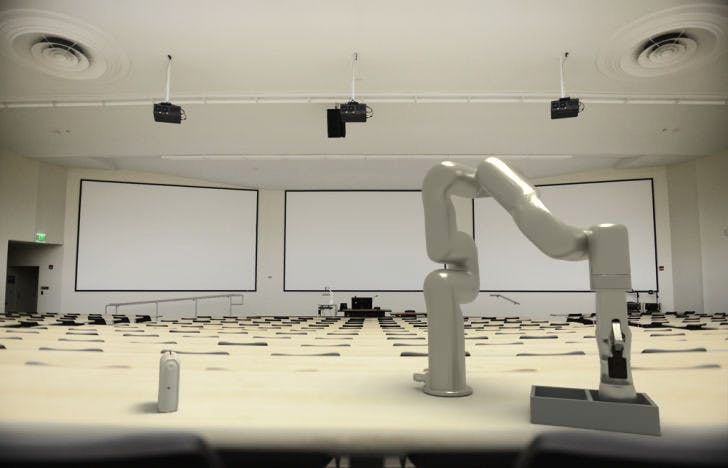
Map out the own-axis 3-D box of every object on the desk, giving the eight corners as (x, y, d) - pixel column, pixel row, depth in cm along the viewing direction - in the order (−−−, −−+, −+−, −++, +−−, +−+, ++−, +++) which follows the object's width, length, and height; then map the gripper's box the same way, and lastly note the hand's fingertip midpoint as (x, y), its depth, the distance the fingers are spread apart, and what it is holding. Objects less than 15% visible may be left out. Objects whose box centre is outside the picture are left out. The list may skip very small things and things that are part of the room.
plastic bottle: (643, 413, 87) (636, 306, 89) (604, 411, 88) (598, 306, 91) (630, 405, 93) (624, 305, 96) (594, 403, 95) (589, 305, 97)
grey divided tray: (531, 423, 91) (530, 396, 91) (532, 408, 102) (531, 385, 102) (660, 435, 83) (658, 406, 83) (647, 418, 94) (645, 392, 94)
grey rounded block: (179, 411, 100) (181, 353, 102) (157, 414, 99) (160, 355, 100) (176, 401, 110) (179, 348, 111) (157, 403, 108) (159, 349, 109)
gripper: (586, 284, 103) (591, 367, 101) (593, 284, 87) (599, 382, 85) (624, 284, 100) (630, 369, 98) (639, 284, 84) (646, 385, 82)
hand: (615, 374), depth 92 cm, fingers closed on plastic bottle, 5 cm apart
